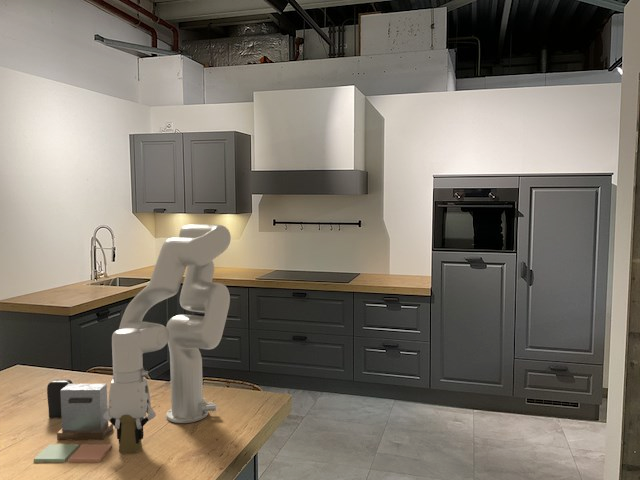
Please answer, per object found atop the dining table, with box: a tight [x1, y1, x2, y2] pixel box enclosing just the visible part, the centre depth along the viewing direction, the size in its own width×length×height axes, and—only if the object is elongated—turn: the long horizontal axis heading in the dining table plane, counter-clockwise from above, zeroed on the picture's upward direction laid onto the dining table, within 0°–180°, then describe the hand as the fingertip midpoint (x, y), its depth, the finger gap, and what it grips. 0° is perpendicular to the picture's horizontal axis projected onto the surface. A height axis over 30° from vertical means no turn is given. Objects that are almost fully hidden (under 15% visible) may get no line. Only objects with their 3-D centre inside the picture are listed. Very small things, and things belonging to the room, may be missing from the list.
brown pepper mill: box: [118, 414, 143, 455], centre depth 146 cm, size 6×6×11 cm
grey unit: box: [56, 383, 114, 441], centre depth 154 cm, size 13×7×14 cm, turn 90°
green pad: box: [33, 444, 80, 463], centre depth 143 cm, size 8×8×1 cm
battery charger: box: [46, 378, 74, 419], centre depth 167 cm, size 7×4×11 cm, turn 92°
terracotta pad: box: [68, 443, 113, 463], centre depth 143 cm, size 8×8×1 cm
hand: (130, 440), depth 146 cm, fingers closed on brown pepper mill, 3 cm apart
